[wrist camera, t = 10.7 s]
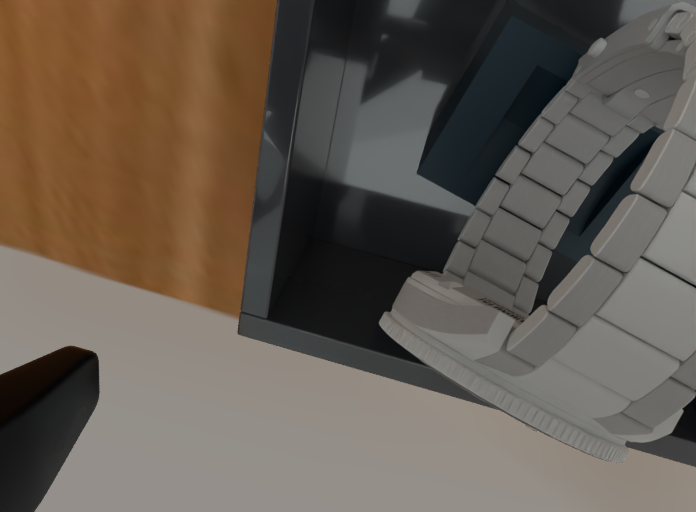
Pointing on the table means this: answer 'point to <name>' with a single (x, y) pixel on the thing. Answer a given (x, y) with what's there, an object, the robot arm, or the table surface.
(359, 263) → the basin
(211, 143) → the table surface
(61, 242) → the table surface
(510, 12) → the watch
